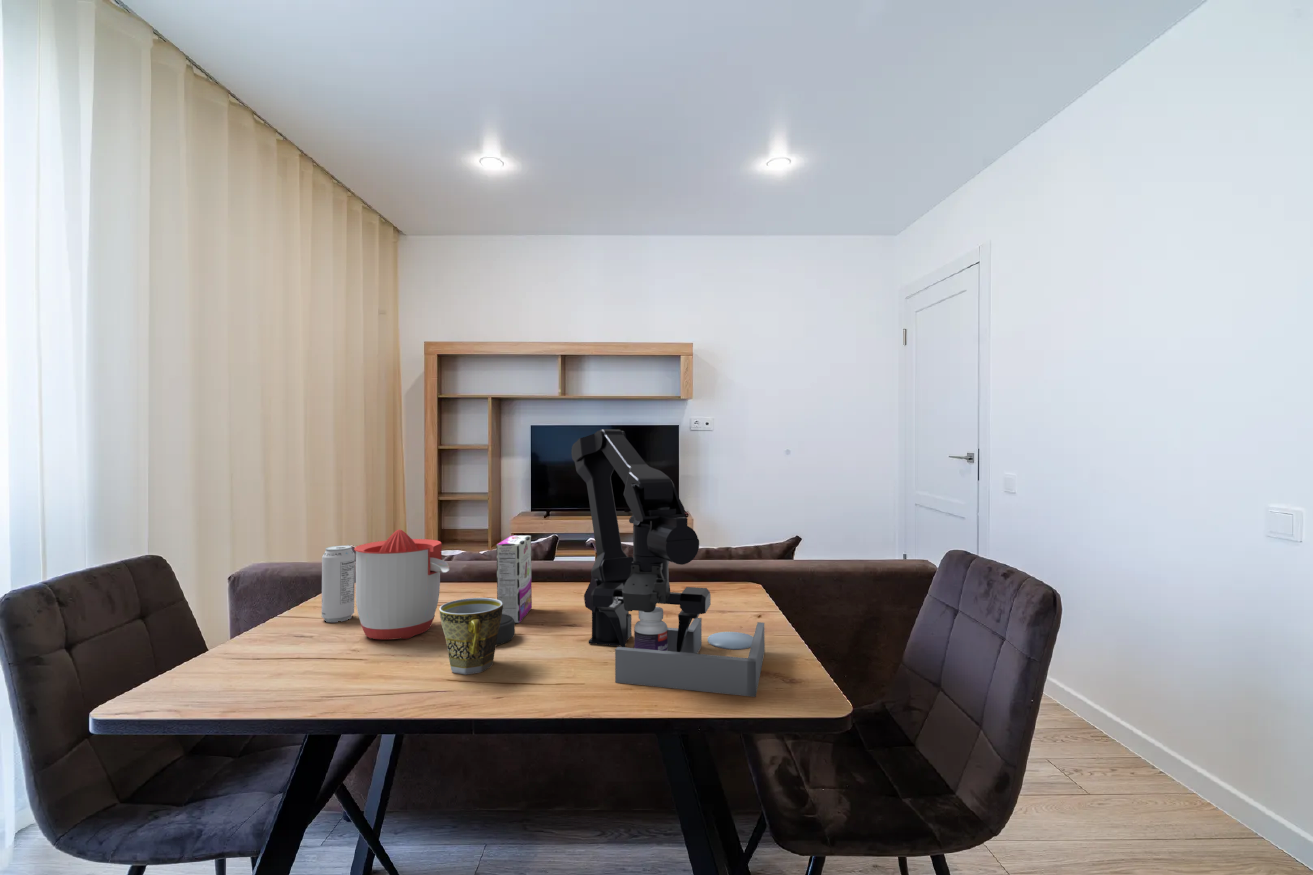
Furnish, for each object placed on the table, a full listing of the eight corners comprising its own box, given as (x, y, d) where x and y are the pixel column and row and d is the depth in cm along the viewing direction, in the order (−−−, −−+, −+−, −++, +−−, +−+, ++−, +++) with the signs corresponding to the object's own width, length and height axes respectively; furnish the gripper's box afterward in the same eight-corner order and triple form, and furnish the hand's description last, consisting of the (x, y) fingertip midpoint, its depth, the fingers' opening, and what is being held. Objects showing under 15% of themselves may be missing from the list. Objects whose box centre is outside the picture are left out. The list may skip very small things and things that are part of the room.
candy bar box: (509, 608, 129) (510, 535, 129) (532, 608, 129) (532, 535, 129) (495, 623, 118) (495, 543, 118) (519, 623, 118) (519, 543, 118)
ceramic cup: (437, 660, 97) (437, 601, 97) (498, 652, 101) (498, 595, 101) (441, 690, 85) (441, 622, 85) (510, 679, 89) (510, 614, 89)
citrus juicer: (430, 645, 105) (431, 535, 105) (335, 645, 105) (336, 535, 105) (461, 620, 120) (461, 524, 121) (379, 619, 121) (379, 523, 121)
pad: (703, 647, 103) (703, 645, 103) (711, 631, 112) (711, 630, 112) (754, 651, 101) (754, 649, 101) (758, 635, 110) (758, 633, 110)
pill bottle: (664, 677, 90) (664, 614, 90) (630, 675, 91) (630, 612, 91) (670, 664, 95) (670, 605, 95) (638, 662, 96) (638, 603, 96)
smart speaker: (475, 632, 113) (475, 612, 113) (520, 633, 112) (520, 612, 112) (457, 648, 104) (457, 626, 104) (506, 648, 103) (506, 626, 103)
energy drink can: (334, 614, 125) (335, 544, 125) (360, 615, 124) (361, 545, 124) (314, 622, 119) (315, 549, 119) (341, 623, 118) (342, 550, 118)
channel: (615, 682, 88) (615, 649, 88) (648, 641, 107) (648, 614, 107) (755, 696, 83) (755, 661, 83) (764, 651, 101) (764, 622, 101)
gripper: (578, 560, 88) (577, 663, 88) (698, 566, 83) (699, 675, 83) (602, 548, 99) (602, 640, 98) (710, 552, 94) (711, 649, 94)
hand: (650, 650), depth 93 cm, fingers open, 9 cm apart
